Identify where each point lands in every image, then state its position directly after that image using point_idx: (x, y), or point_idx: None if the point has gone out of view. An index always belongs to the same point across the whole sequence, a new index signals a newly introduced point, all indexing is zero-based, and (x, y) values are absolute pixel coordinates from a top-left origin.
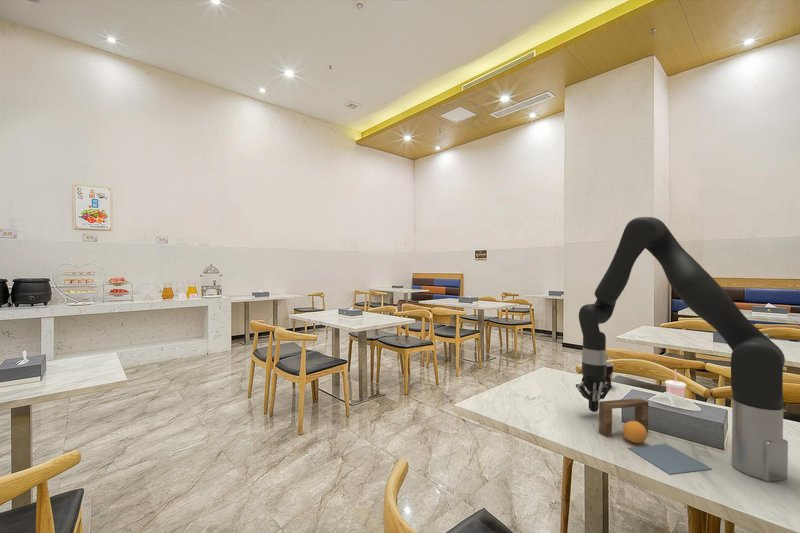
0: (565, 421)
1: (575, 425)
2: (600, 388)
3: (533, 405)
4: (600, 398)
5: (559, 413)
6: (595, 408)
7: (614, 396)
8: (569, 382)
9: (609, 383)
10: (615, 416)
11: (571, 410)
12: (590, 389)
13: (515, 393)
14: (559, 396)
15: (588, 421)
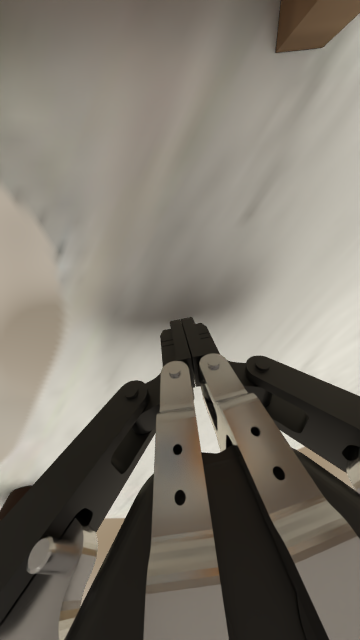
0: (350, 254)
1: (352, 202)
2: (176, 505)
3: (325, 377)
4: (148, 387)
5: (301, 329)
6: (185, 328)
7: (12, 458)
8: (121, 491)
9: (3, 514)
10: (71, 311)
11: (236, 355)
12: (304, 460)
13: None
14: (200, 432)
15: (248, 252)
